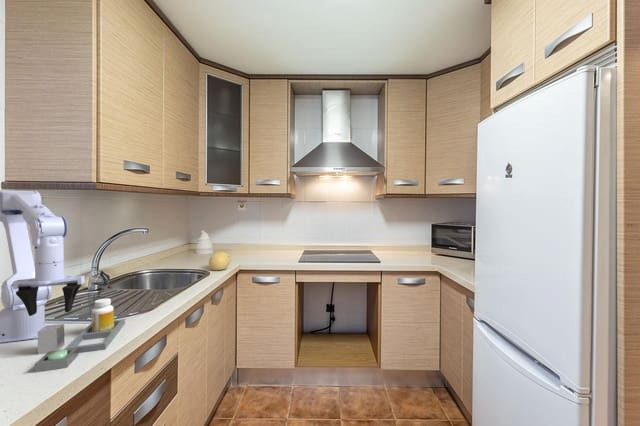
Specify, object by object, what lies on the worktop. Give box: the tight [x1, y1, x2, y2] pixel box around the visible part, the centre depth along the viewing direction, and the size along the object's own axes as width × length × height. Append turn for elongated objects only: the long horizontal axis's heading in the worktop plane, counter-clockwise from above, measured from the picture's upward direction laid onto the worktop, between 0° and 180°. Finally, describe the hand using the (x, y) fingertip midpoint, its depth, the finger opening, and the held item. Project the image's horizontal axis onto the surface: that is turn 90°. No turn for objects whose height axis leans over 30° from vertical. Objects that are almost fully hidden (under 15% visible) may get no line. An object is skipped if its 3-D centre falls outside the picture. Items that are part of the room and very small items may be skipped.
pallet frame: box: [64, 318, 126, 354], centre depth 86 cm, size 9×18×2 cm, turn 20°
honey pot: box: [195, 230, 214, 255], centre depth 238 cm, size 13×13×18 cm
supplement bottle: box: [91, 298, 115, 333], centre depth 90 cm, size 5×5×10 cm
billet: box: [37, 323, 66, 355], centre depth 79 cm, size 4×4×6 cm
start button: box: [48, 348, 67, 360], centre depth 72 cm, size 4×4×2 cm
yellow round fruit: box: [208, 251, 232, 271], centre depth 177 cm, size 11×12×11 cm
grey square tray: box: [34, 348, 79, 373], centre depth 72 cm, size 6×6×2 cm
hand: (50, 312), depth 79 cm, fingers open, 7 cm apart
